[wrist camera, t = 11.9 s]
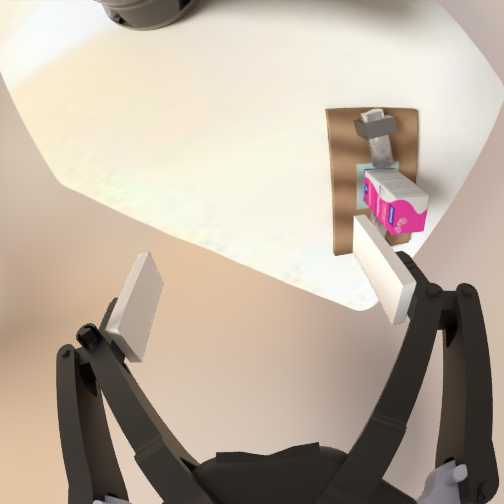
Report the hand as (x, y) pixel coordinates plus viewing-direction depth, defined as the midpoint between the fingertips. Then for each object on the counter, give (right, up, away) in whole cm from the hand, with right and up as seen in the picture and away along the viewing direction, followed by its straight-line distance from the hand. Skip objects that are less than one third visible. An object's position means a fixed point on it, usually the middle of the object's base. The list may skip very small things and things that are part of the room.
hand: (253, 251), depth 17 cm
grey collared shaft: (+19, +18, +20) cm, 32 cm away
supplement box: (+21, +11, +24) cm, 34 cm away
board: (+21, +12, +25) cm, 35 cm away
